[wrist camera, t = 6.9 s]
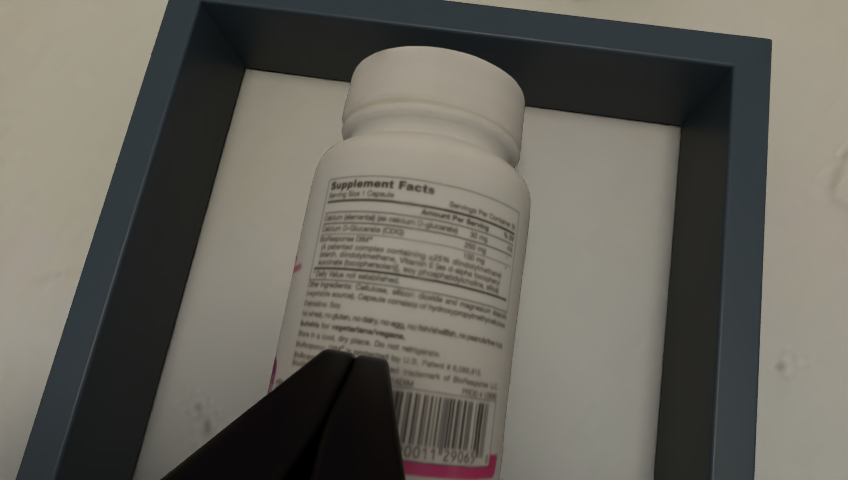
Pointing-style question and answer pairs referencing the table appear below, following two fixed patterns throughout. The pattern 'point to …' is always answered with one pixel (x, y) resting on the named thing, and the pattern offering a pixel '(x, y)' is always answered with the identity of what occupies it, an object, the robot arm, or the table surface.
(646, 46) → the bin
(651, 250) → the table surface
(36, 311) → the table surface
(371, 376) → the robot arm
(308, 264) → the pill bottle
